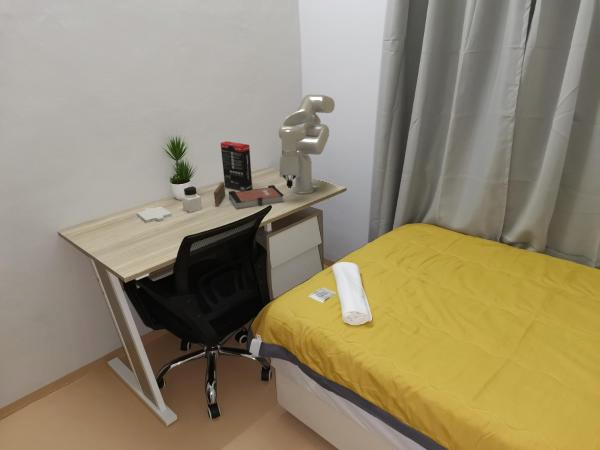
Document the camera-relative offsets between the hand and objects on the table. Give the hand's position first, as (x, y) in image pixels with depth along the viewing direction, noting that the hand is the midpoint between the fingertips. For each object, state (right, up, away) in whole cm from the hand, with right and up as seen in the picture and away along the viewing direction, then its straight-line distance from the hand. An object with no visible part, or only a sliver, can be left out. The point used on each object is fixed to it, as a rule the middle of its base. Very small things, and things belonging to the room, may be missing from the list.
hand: (289, 187), depth 212 cm
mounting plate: (-68, -16, -10) cm, 71 cm away
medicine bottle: (-51, -12, -3) cm, 52 cm away
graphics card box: (-31, +2, +26) cm, 41 cm away
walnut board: (-38, -7, +7) cm, 39 cm away
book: (-19, -7, +7) cm, 21 cm away
